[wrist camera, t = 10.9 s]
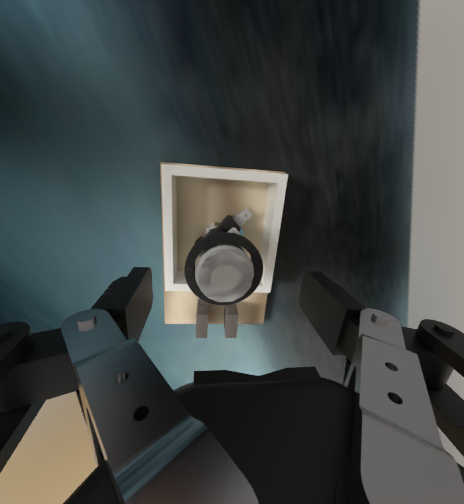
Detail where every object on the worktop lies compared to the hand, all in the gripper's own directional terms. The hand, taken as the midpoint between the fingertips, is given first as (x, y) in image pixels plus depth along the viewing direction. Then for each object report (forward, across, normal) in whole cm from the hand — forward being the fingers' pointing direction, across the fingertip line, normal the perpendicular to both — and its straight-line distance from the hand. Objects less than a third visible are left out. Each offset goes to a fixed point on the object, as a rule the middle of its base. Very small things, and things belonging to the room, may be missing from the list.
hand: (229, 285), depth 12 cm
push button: (+12, -1, 0) cm, 13 cm away
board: (+14, 0, +3) cm, 14 cm away
